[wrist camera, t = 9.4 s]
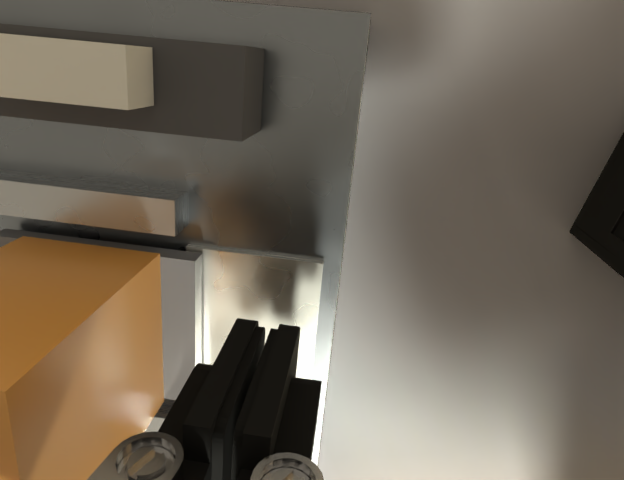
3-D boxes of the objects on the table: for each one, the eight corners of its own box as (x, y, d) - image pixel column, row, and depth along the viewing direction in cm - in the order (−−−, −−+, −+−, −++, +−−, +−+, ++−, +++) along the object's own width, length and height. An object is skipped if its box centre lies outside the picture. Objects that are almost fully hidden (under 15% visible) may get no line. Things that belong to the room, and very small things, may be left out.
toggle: (202, 249, 14) (64, 401, 8) (201, 393, 15) (88, 610, 9) (5, 225, 14) (-277, 348, 8) (26, 366, 16) (-192, 557, 10)
